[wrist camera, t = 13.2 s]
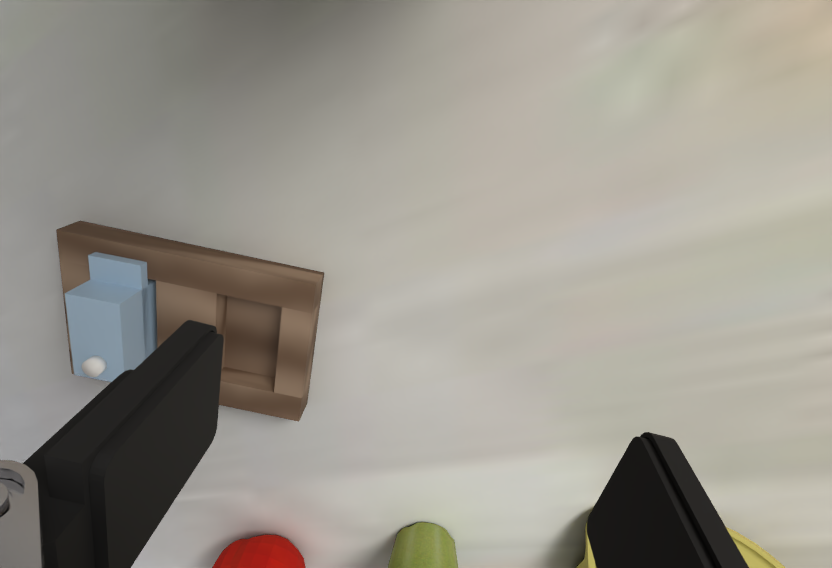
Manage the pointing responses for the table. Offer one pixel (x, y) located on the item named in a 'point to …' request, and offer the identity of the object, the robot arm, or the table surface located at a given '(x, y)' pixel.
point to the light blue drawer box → (112, 317)
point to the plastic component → (755, 557)
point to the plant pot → (423, 548)
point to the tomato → (260, 554)
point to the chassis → (220, 309)
